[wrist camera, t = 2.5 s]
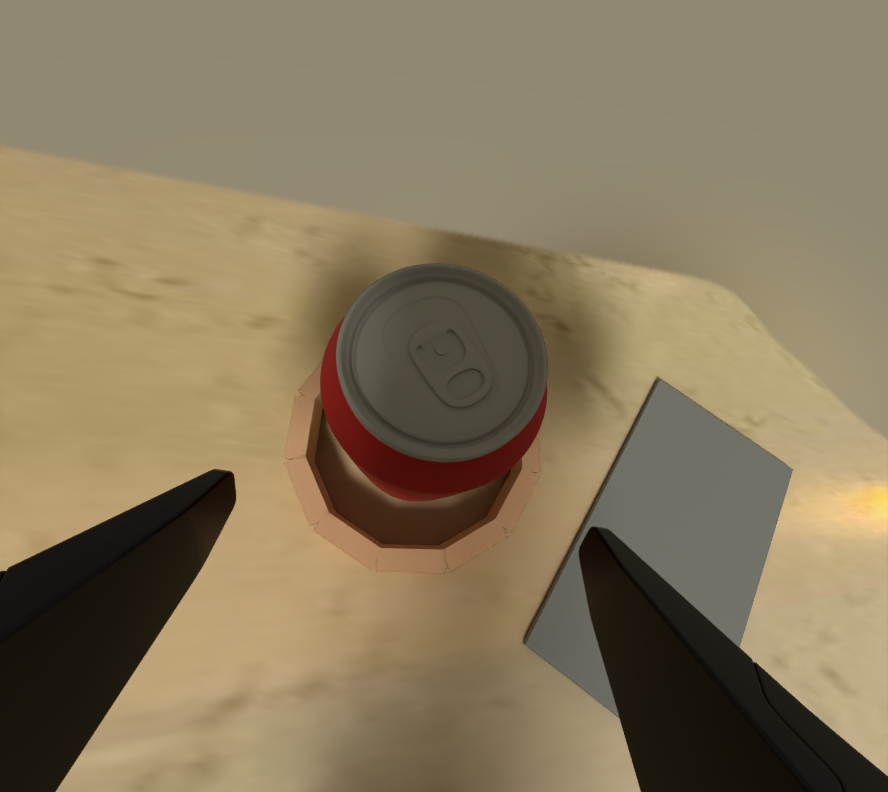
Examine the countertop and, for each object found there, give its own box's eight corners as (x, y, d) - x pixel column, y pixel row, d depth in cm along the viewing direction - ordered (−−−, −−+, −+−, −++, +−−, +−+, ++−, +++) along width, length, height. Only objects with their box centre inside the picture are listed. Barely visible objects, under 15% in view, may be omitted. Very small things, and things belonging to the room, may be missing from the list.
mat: (693, 775, 17) (699, 780, 16) (523, 642, 17) (525, 644, 17) (788, 470, 23) (792, 469, 22) (656, 380, 23) (660, 379, 23)
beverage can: (433, 366, 21) (476, 208, 10) (496, 458, 20) (626, 394, 9) (334, 423, 20) (252, 306, 8) (398, 528, 18) (402, 558, 7)
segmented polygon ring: (566, 491, 20) (584, 489, 18) (357, 618, 17) (352, 632, 15) (461, 311, 23) (467, 293, 21) (263, 389, 20) (249, 377, 18)
